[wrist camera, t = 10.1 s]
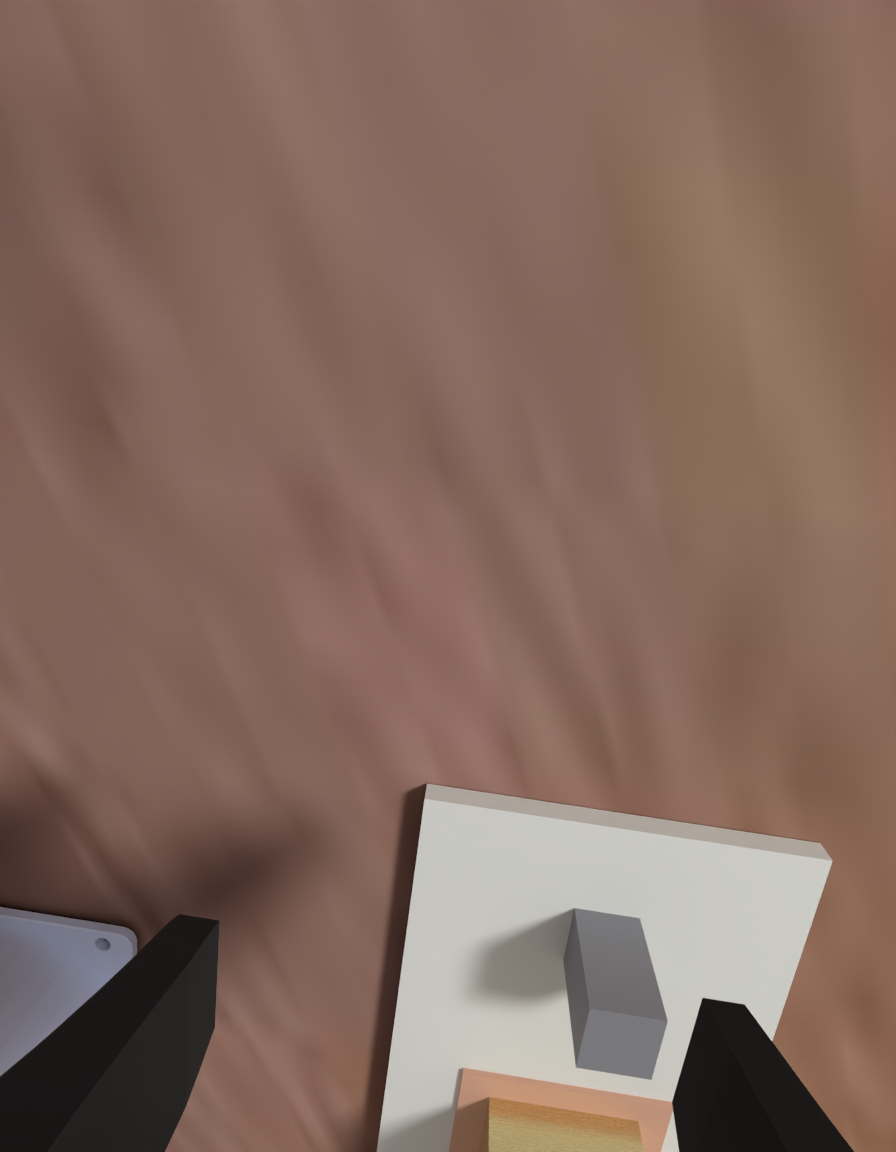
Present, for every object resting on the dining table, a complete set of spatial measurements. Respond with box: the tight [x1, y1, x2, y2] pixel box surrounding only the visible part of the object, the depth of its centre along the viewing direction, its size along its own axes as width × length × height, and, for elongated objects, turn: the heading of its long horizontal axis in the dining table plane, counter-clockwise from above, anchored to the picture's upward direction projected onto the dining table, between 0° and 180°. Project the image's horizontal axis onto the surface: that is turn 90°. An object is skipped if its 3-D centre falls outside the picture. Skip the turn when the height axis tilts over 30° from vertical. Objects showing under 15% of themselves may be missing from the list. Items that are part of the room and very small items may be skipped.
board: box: [377, 784, 832, 1152], centre depth 21 cm, size 12×18×4 cm, turn 173°
